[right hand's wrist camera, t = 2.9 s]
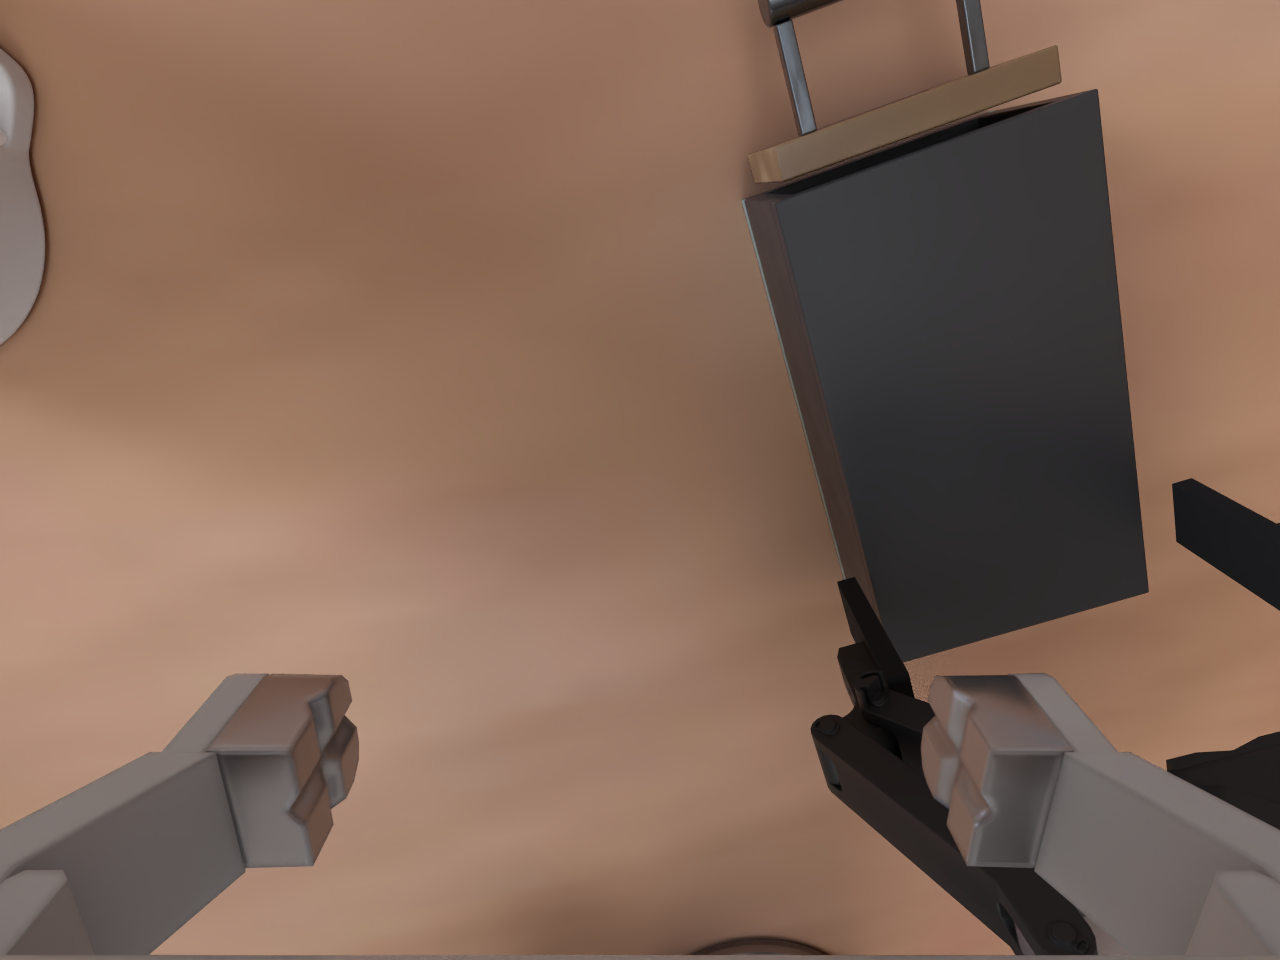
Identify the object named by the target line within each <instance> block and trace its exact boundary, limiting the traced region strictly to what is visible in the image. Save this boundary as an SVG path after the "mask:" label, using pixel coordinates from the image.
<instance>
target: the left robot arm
mask: <svg viewBox="0 0 1280 960" xmlns="http://www.w3.org/2000/svg"><path fill="white" fill-rule="evenodd" d="M1172 488H1173V501H1174V515H1175V528H1176V542H1178V543H1179V544H1181V545H1182V546H1184V547H1185V548H1187V549H1188V550H1190V551H1191V552H1193V553H1194V554H1196V555H1197V556H1199V557H1200V558H1202V559H1203V560H1205V561H1206V562H1208V563H1209V564H1211V565H1212V566H1214V567H1215V568H1217V569H1218V570H1220V571H1221V572H1223V573H1224V574H1226V575H1227V576H1229V577H1230V578H1232V579H1233V580H1235V581H1236V582H1238V583H1239V584H1241V585H1242V586H1244V587H1245V588H1247V589H1248V590H1250V591H1251V592H1253V593H1254V594H1256V595H1257V596H1259V597H1260V598H1262V599H1263V600H1265V601H1266V602H1268V603H1269V604H1271V605H1272V606H1274V607H1275V608H1276V609H1278V610H1279V611H1280V523H1278V524H1276V523H1274V522H1272V521H1270V520H1268V519H1267V518H1265V517H1263V516H1261V515H1259V514H1257V513H1255V512H1254V511H1252V510H1250V509H1248V508H1246V507H1244V506H1242V505H1241V504H1239V503H1237V502H1235V501H1233V500H1231V499H1229V498H1228V497H1226V496H1224V495H1222V494H1220V493H1218V492H1216V491H1215V490H1213V489H1211V488H1209V487H1207V486H1205V485H1203V484H1202V483H1200V482H1198V481H1196V480H1194V479H1192V478H1191V479H1187V480H1184V481H1180V482H1177V483H1174V484H1172ZM837 583H838V587H839V591H840V594H841V598H842V602H843V605H844V609H845V613H846V616H847V620H848V624H849V627H850V631H851V634H852V636H853V638H854V641H855V643H856V644H852V645H849V646H845V647H842V648H839V651H838V656H837V658H838V662H839V665H840V669H841V672H842V676H843V679H844V683H845V686H846V689H847V691H848V694H849V696H850V698H851V701H852V703H853V705H854V708H853V710H852V711H851V712H850V713H849V714H848V715H846V716H845V717H843V718H842V717H840V716H838V715H826V716H822V717H820V718H818V719H817V720H816V721H815V722H814V723H813V724H812V726H811V734H812V737H813V740H814V744H815V747H816V750H817V753H818V756H819V760H820V763H821V766H822V769H823V772H824V775H825V779H826V782H827V785H828V788H829V789H830V791H831V792H832V793H833V794H834V795H836V796H837V797H838V798H839V799H840V800H841V801H842V802H844V803H845V804H846V805H847V806H848V807H849V808H851V809H852V810H853V811H854V812H855V813H856V814H858V815H859V816H860V817H861V818H862V819H863V820H864V821H866V822H867V823H868V824H869V825H870V826H871V827H873V828H874V829H875V830H876V831H877V832H878V833H879V834H881V835H882V836H883V837H884V838H885V839H886V840H888V841H889V842H890V843H891V844H892V845H893V846H895V847H896V848H897V849H898V850H899V851H900V852H901V853H903V854H904V855H905V856H906V857H907V858H908V859H910V860H911V861H912V862H913V863H914V864H915V865H916V866H918V867H919V868H920V869H921V870H922V871H923V872H925V873H926V874H927V875H928V876H929V877H930V878H932V879H933V880H934V881H935V882H936V883H937V884H938V885H940V886H941V887H942V888H943V889H944V890H945V891H947V892H948V893H949V894H950V895H951V896H952V897H954V898H955V899H956V900H957V901H958V902H959V903H960V904H962V905H963V906H964V907H965V908H966V909H967V910H969V911H970V912H971V913H972V914H973V915H974V916H975V917H977V918H978V919H979V920H980V921H981V922H982V923H984V924H985V925H986V926H987V927H988V928H989V929H991V930H992V931H993V932H994V933H995V934H996V935H997V936H999V937H1000V938H1001V939H1002V940H1003V941H1004V942H1006V943H1007V944H1008V945H1009V946H1010V947H1011V948H1012V950H1013V952H1014V953H1015V955H1131V954H1130V953H1129V952H1128V951H1126V950H1125V949H1124V948H1123V947H1122V946H1121V945H1120V944H1118V943H1117V942H1116V941H1115V940H1114V939H1113V938H1111V937H1110V936H1109V935H1108V934H1107V933H1106V932H1104V931H1103V930H1102V929H1101V928H1100V927H1099V926H1097V925H1096V924H1095V923H1094V922H1093V921H1092V920H1090V919H1089V918H1088V917H1087V916H1086V915H1085V914H1084V913H1082V912H1081V911H1080V910H1079V909H1078V908H1077V907H1075V906H1074V905H1073V904H1072V903H1071V902H1070V901H1068V900H1067V899H1066V898H1065V897H1064V896H1063V895H1061V894H1060V893H1059V892H1058V891H1057V890H1056V889H1054V888H1053V887H1052V886H1051V885H1050V884H1049V883H1047V882H1046V881H1045V880H1044V879H1043V878H1042V877H1041V876H1039V875H1038V874H1037V873H1036V872H1035V868H1016V867H981V866H967V865H966V863H965V861H964V859H963V857H962V855H961V853H960V851H959V849H958V847H957V845H956V843H955V841H954V839H953V837H952V834H951V832H950V830H949V828H948V826H947V819H948V813H949V809H948V808H947V807H945V806H944V805H943V804H941V803H940V802H939V801H937V800H936V799H934V798H933V795H932V793H931V791H930V789H929V787H928V785H927V782H926V778H925V775H924V771H923V767H922V756H921V742H922V734H923V727H924V726H925V725H926V724H927V723H928V722H929V721H930V720H931V719H932V718H933V717H934V716H935V713H934V711H933V709H932V707H931V706H930V704H929V703H927V702H924V701H921V700H918V699H915V698H914V694H913V690H912V686H911V681H910V677H909V673H908V671H907V669H906V668H905V666H904V664H903V662H902V660H901V659H900V657H899V655H898V653H897V651H896V650H895V648H894V646H893V644H892V642H891V641H890V639H889V637H888V635H887V634H886V632H885V630H884V628H883V626H882V625H881V623H880V621H879V619H878V617H877V616H876V614H875V612H874V610H873V608H872V607H871V605H870V603H869V601H868V600H867V598H866V596H865V594H864V592H863V591H862V589H861V587H860V585H859V583H858V582H857V580H856V578H855V577H852V578H848V579H845V580H842V581H838V582H837ZM1166 764H1167V772H1169V773H1171V774H1173V775H1175V776H1177V777H1179V778H1181V779H1183V780H1184V781H1186V782H1188V783H1190V784H1192V785H1194V786H1196V787H1198V788H1200V789H1202V790H1204V791H1206V792H1207V793H1209V794H1211V795H1213V796H1215V797H1217V798H1219V799H1221V800H1223V801H1225V802H1227V803H1229V804H1231V805H1232V806H1234V807H1236V808H1238V809H1240V810H1242V811H1244V812H1246V813H1248V814H1250V815H1252V816H1254V817H1255V818H1257V819H1259V820H1261V821H1263V822H1265V823H1267V824H1269V825H1271V826H1273V827H1275V828H1277V829H1279V830H1280V732H1276V733H1272V734H1268V735H1264V736H1260V737H1257V738H1256V739H1254V740H1252V741H1250V742H1248V743H1246V744H1244V745H1243V746H1241V747H1239V748H1237V749H1235V750H1232V751H1216V752H1199V753H1193V754H1189V755H1185V756H1181V757H1177V758H1173V759H1169V760H1166ZM693 955H825V954H823V953H821V952H819V951H817V950H814V949H812V948H809V947H806V946H803V945H800V944H796V943H792V942H786V941H779V940H765V939H756V940H742V941H735V942H729V943H725V944H721V945H717V946H713V947H710V948H707V949H705V950H702V951H700V952H697V953H695V954H693Z"/></svg>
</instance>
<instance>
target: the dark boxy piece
mask: <svg viewBox="0 0 1280 960" xmlns="http://www.w3.org/2000/svg"><path fill="white" fill-rule="evenodd" d="M741 201H742V205H743V208H744V212H745V216H746V220H747V223H748V227H749V231H750V234H751V238H752V242H753V245H754V249H755V253H756V257H757V260H758V264H759V268H760V271H761V275H762V279H763V282H764V286H765V290H766V294H767V297H768V301H769V305H770V308H771V312H772V316H773V319H774V323H775V327H776V331H777V334H778V338H779V342H780V345H781V349H782V353H783V356H784V360H785V364H786V368H787V371H788V375H789V379H790V382H791V386H792V390H793V393H794V397H795V401H796V405H797V408H798V412H799V416H800V419H801V423H802V427H803V430H804V434H805V438H806V442H807V445H808V449H809V453H810V456H811V460H812V464H813V467H814V471H815V475H816V479H817V482H818V486H819V490H820V493H821V497H822V501H823V505H824V508H825V512H826V516H827V519H828V523H829V527H830V530H831V534H832V538H833V542H834V545H835V549H836V553H837V556H838V560H839V564H840V567H841V571H842V575H843V579H844V580H845V579H848V578H852V577H855V578H856V580H857V582H858V583H859V585H860V587H861V589H862V591H863V592H864V594H865V596H866V598H867V600H868V601H869V603H870V605H871V607H872V608H873V610H874V612H875V614H876V616H877V617H878V619H879V621H880V623H881V625H882V626H883V628H884V630H885V632H886V634H887V635H888V637H889V639H890V641H891V642H892V644H893V646H894V648H895V650H896V651H897V653H898V655H899V657H900V659H901V660H902V662H906V661H910V660H913V659H917V658H920V657H924V656H927V655H931V654H934V653H938V652H941V651H945V650H948V649H952V648H955V647H959V646H962V645H966V644H969V643H973V642H976V641H980V640H983V639H987V638H990V637H994V636H997V635H1001V634H1004V633H1008V632H1011V631H1015V630H1018V629H1022V628H1025V627H1029V626H1032V625H1036V624H1039V623H1043V622H1046V621H1050V620H1053V619H1057V618H1060V617H1064V616H1067V615H1071V614H1074V613H1078V612H1081V611H1085V610H1088V609H1092V608H1095V607H1099V606H1102V605H1106V604H1109V603H1113V602H1116V601H1120V600H1123V599H1127V598H1130V597H1134V596H1137V595H1141V594H1144V593H1148V592H1149V589H1148V579H1147V570H1146V560H1145V550H1144V540H1143V530H1142V520H1141V511H1140V501H1139V491H1138V481H1137V471H1136V461H1135V452H1134V442H1133V432H1132V422H1131V412H1130V402H1129V392H1128V383H1127V373H1126V363H1125V353H1124V343H1123V333H1122V324H1121V314H1120V304H1119V294H1118V284H1117V274H1116V265H1115V255H1114V245H1113V235H1112V225H1111V215H1110V205H1109V196H1108V186H1107V176H1106V166H1105V156H1104V146H1103V137H1102V127H1101V117H1100V107H1099V97H1098V90H1097V89H1094V90H1089V91H1085V92H1081V93H1076V94H1071V95H1067V96H1062V97H1057V98H1053V99H1048V100H1043V101H1039V102H1034V103H1030V104H1025V105H1020V106H1016V107H1011V108H1006V109H1002V110H995V111H990V112H988V113H985V114H983V115H980V116H977V117H974V118H971V119H969V120H966V121H963V122H960V123H957V124H954V125H952V126H949V127H946V128H943V129H940V130H938V131H935V132H932V133H929V134H926V135H924V136H921V137H918V138H915V139H912V140H910V141H907V142H904V143H901V144H898V145H896V146H893V147H890V148H887V149H884V150H881V151H879V152H876V153H873V154H870V155H867V156H865V157H862V158H859V159H856V160H853V161H851V162H848V163H845V164H842V165H839V166H837V167H834V168H831V169H828V170H825V171H823V172H820V173H817V174H814V175H811V176H808V177H806V178H803V179H800V180H797V181H794V182H792V183H789V184H786V185H783V186H780V187H778V188H775V189H772V190H769V191H766V192H764V193H761V194H758V195H755V196H752V197H750V198H747V199H743V200H741Z"/></svg>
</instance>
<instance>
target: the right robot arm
mask: <svg viewBox="0 0 1280 960" xmlns="http://www.w3.org/2000/svg"><path fill="white" fill-rule="evenodd" d="M33 119H34V94H33V89H32V85H31V82H30V80H29V78H28V76H27V74H26V73H25V71H24V70H23V69H22V68H21V66H20V65H19V64H18V63H17V62H16V61H15V60H13V59H12V58H11V57H10V56H9V55H8V54H7V53H6V52H4V51H3V50H2V49H1V48H0V345H1V344H2V343H4V342H5V341H6V340H7V339H8V338H10V337H11V336H12V335H13V334H14V333H15V332H16V330H17V329H18V328H19V327H20V326H21V324H22V323H23V322H24V320H25V319H26V317H27V316H28V314H29V312H30V311H31V309H32V307H33V305H34V303H35V300H36V298H37V295H38V292H39V289H40V285H41V282H42V277H43V272H44V264H45V231H44V224H43V217H42V212H41V207H40V203H39V199H38V196H37V192H36V188H35V184H34V180H33V177H32V172H31V167H30V160H29V148H30V142H31V135H32V127H33ZM351 702H352V697H351V693H350V688H349V683H348V680H347V679H345V678H344V677H343V676H342V675H310V674H234V675H231V676H228V677H226V678H225V679H224V680H223V682H222V683H221V684H220V685H219V686H218V687H217V689H216V690H215V691H214V692H213V693H212V694H211V695H210V697H209V698H208V699H207V700H206V701H205V702H204V704H203V705H202V706H201V707H200V708H199V709H198V711H197V712H196V713H195V714H194V715H193V716H192V717H191V719H190V720H189V721H188V722H187V723H186V724H185V726H184V727H183V728H182V729H181V730H180V731H179V733H178V734H177V735H176V736H175V737H174V738H173V740H172V741H171V742H170V743H169V744H168V745H167V746H166V748H165V749H164V750H163V751H162V752H149V753H147V754H145V755H144V756H142V757H140V758H138V759H136V760H134V761H132V762H130V763H128V764H126V765H124V766H122V767H120V768H119V769H117V770H115V771H113V772H111V773H109V774H107V775H105V776H103V777H101V778H99V779H97V780H95V781H93V782H92V783H90V784H88V785H86V786H84V787H82V788H80V789H78V790H76V791H74V792H72V793H70V794H68V795H67V796H65V797H63V798H61V799H59V800H57V801H55V802H53V803H51V804H49V805H47V806H45V807H43V808H42V809H40V810H38V811H36V812H34V813H32V814H30V815H28V816H26V817H24V818H22V819H20V820H18V821H16V822H15V823H13V824H11V825H9V826H7V827H5V828H3V829H1V830H0V960H1280V830H1279V829H1277V828H1275V827H1273V826H1271V825H1269V824H1267V823H1265V822H1263V821H1261V820H1259V819H1257V818H1255V817H1254V816H1252V815H1250V814H1248V813H1246V812H1244V811H1242V810H1240V809H1238V808H1236V807H1234V806H1232V805H1231V804H1229V803H1227V802H1225V801H1223V800H1221V799H1219V798H1217V797H1215V796H1213V795H1211V794H1209V793H1207V792H1206V791H1204V790H1202V789H1200V788H1198V787H1196V786H1194V785H1192V784H1190V783H1188V782H1186V781H1184V780H1183V779H1181V778H1179V777H1177V776H1175V775H1173V774H1171V773H1169V772H1167V771H1165V770H1163V769H1161V768H1159V767H1158V766H1156V765H1154V764H1152V763H1150V762H1148V761H1146V760H1144V759H1142V758H1140V757H1138V756H1136V755H1135V754H1133V753H1131V752H1118V751H1117V750H1116V749H1115V748H1114V746H1113V745H1112V744H1111V743H1110V742H1109V741H1108V740H1107V738H1106V737H1105V736H1104V735H1103V734H1102V733H1101V731H1100V730H1099V729H1098V728H1097V727H1096V726H1095V724H1094V723H1093V722H1092V721H1091V720H1090V719H1089V718H1088V716H1087V715H1086V714H1085V713H1084V712H1083V711H1082V709H1081V708H1080V707H1079V706H1078V705H1077V704H1076V702H1075V701H1074V700H1073V699H1072V698H1071V697H1070V696H1069V694H1068V693H1067V692H1066V691H1065V690H1064V689H1063V687H1062V686H1061V685H1060V684H1059V683H1058V682H1057V680H1056V679H1055V678H1054V677H1052V676H1050V675H1048V674H1046V673H1032V674H1008V675H983V676H935V678H934V680H933V682H932V684H931V686H930V691H929V697H928V702H929V704H930V706H931V707H932V709H933V711H934V713H935V716H934V717H933V718H932V719H931V720H930V721H929V722H928V723H927V724H926V725H925V726H924V727H923V734H922V742H921V756H922V767H923V771H924V775H925V778H926V782H927V785H928V787H929V789H930V791H931V793H932V795H933V798H934V799H936V800H937V801H939V802H940V803H941V804H943V805H944V806H945V807H947V808H948V809H949V813H948V819H947V826H948V828H949V830H950V832H951V834H952V837H953V839H954V841H955V843H956V845H957V847H958V849H959V851H960V853H961V855H962V857H963V859H964V861H965V863H966V865H967V866H981V867H1016V868H1035V872H1036V873H1037V874H1038V875H1039V876H1041V877H1042V878H1043V879H1044V880H1045V881H1046V882H1047V883H1049V884H1050V885H1051V886H1052V887H1053V888H1054V889H1056V890H1057V891H1058V892H1059V893H1060V894H1061V895H1063V896H1064V897H1065V898H1066V899H1067V900H1068V901H1070V902H1071V903H1072V904H1073V905H1074V906H1075V907H1077V908H1078V909H1079V910H1080V911H1081V912H1082V913H1084V914H1085V915H1086V916H1087V917H1088V918H1089V919H1090V920H1092V921H1093V922H1094V923H1095V924H1096V925H1097V926H1099V927H1100V928H1101V929H1102V930H1103V931H1104V932H1106V933H1107V934H1108V935H1109V936H1110V937H1111V938H1113V939H1114V940H1115V941H1116V942H1117V943H1118V944H1120V945H1121V946H1122V947H1123V948H1124V949H1125V950H1126V951H1128V952H1129V953H1130V954H1131V955H149V954H150V953H151V952H153V951H154V950H155V949H156V948H157V947H158V946H160V945H161V944H162V943H163V942H164V941H165V940H167V939H168V938H169V937H170V936H171V935H172V934H174V933H175V932H176V931H177V930H178V929H179V928H180V927H182V926H183V925H184V924H185V923H186V922H187V921H189V920H190V919H191V918H192V917H193V916H194V915H196V914H197V913H198V912H199V911H200V910H201V909H203V908H204V907H205V906H206V905H207V904H208V903H210V902H211V901H212V900H213V899H214V898H215V897H217V896H218V895H219V894H220V893H221V892H222V891H224V890H225V889H226V888H227V887H228V886H229V885H231V884H232V883H233V882H234V881H235V880H236V879H238V878H239V877H240V876H241V875H242V874H243V873H245V868H263V867H297V866H313V865H314V863H315V861H316V859H317V857H318V855H319V853H320V851H321V849H322V847H323V845H324V843H325V841H326V839H327V837H328V835H329V833H330V830H331V828H332V826H333V819H332V813H331V809H332V808H333V807H335V806H336V805H337V804H339V803H340V802H341V801H343V800H344V799H346V798H347V795H348V793H349V791H350V789H351V787H352V784H353V782H354V779H355V774H356V770H357V765H358V760H359V740H358V733H357V727H356V726H355V725H354V724H353V723H352V722H351V721H350V720H349V719H348V718H347V717H346V716H345V713H346V711H347V709H348V708H349V706H350V704H351Z"/></svg>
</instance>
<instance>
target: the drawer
mask: <svg viewBox="0 0 1280 960" xmlns="http://www.w3.org/2000/svg"><path fill="white" fill-rule="evenodd" d="M840 1H842V0H758V4H759V9H760V12H761V16H762V18H763V21H764V23H765V24H766V26H767V27H770V28H771V27H773V26H775V27H774V34H775V38H776V42H777V47H778V51H779V55H780V59H781V63H782V68H783V72H784V76H785V80H786V85H787V89H788V93H789V97H790V101H791V106H792V110H793V114H794V118H795V123H796V127H797V131H798V135H799V136H798V137H796V138H793V139H790V140H787V141H785V142H782V143H779V144H776V145H774V146H771V147H768V148H765V149H763V150H760V151H757V152H754V153H751V154H749V155H748V158H749V162H750V166H751V170H752V174H753V177H754V181H755V183H771V182H785V181H787V180H790V179H793V178H796V177H799V176H801V175H804V174H807V173H810V172H813V171H816V170H818V169H821V168H824V167H827V166H830V165H832V164H835V163H838V162H841V161H844V160H846V159H849V158H852V157H855V156H858V155H860V154H863V153H866V152H869V151H872V150H874V149H877V148H880V147H883V146H886V145H888V144H891V143H894V142H897V141H900V140H902V139H905V138H908V137H911V136H914V135H916V134H919V133H922V132H925V131H928V130H930V129H933V128H936V127H939V126H942V125H944V124H947V123H950V122H953V121H956V120H958V119H961V118H964V117H967V116H970V115H973V114H975V113H978V112H981V111H984V110H987V109H989V108H992V107H995V106H998V105H1001V104H1003V103H1006V102H1009V101H1012V100H1015V99H1017V98H1020V97H1023V96H1026V95H1029V94H1031V93H1034V92H1037V91H1040V90H1043V89H1045V88H1048V87H1051V86H1054V85H1057V84H1059V83H1061V81H1062V80H1061V72H1060V63H1059V55H1058V47H1057V46H1056V45H1055V46H1052V47H1049V48H1046V49H1043V50H1040V51H1037V52H1034V53H1031V54H1028V55H1025V56H1022V57H1019V58H1016V59H1013V60H1010V61H1007V62H1004V63H1002V64H999V65H996V66H993V67H990V68H989V60H988V53H987V46H986V39H985V32H984V26H983V19H982V12H981V5H980V0H956V4H957V10H958V16H959V23H960V29H961V36H962V42H963V48H964V55H965V61H966V67H967V74H968V75H967V76H964V77H961V78H959V79H956V80H953V81H950V82H948V83H945V84H942V85H939V86H937V87H934V88H931V89H928V90H925V91H923V92H920V93H917V94H914V95H911V96H909V97H906V98H903V99H900V100H898V101H895V102H892V103H889V104H887V105H884V106H881V107H878V108H876V109H873V110H870V111H867V112H864V113H862V114H859V115H856V116H853V117H851V118H848V119H845V120H842V121H840V122H837V123H834V124H831V125H829V126H826V127H823V128H820V129H818V130H817V127H816V122H815V118H814V114H813V109H812V105H811V101H810V96H809V92H808V87H807V83H806V79H805V74H804V70H803V65H802V61H801V57H800V52H799V48H798V44H797V39H796V35H795V30H794V26H793V22H792V19H795V18H797V17H800V16H803V15H805V14H808V13H810V12H813V11H816V10H818V9H821V8H824V7H826V6H829V5H832V4H834V3H837V2H840Z"/></svg>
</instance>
